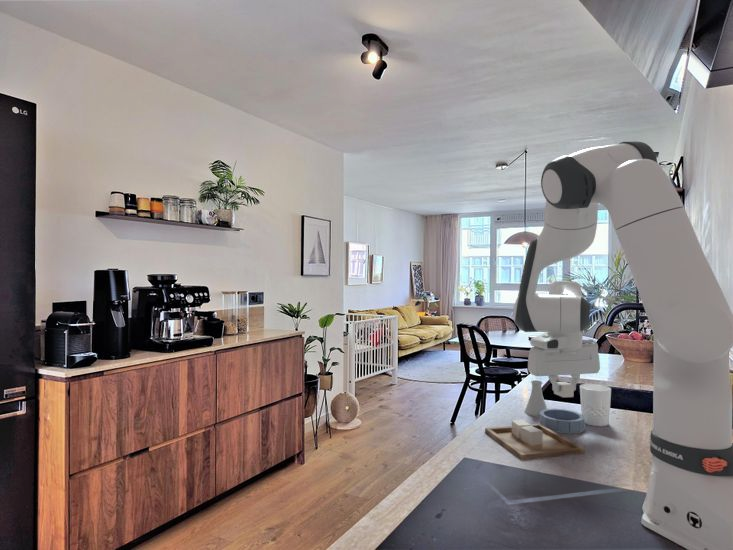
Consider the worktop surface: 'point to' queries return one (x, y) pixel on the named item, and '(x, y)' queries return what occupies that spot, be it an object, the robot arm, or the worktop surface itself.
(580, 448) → the tray
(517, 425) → the cream small block
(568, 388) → the white small block
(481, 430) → the worktop surface
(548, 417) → the bowl
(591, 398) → the white cup
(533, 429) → the cream white small block
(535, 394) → the flask
